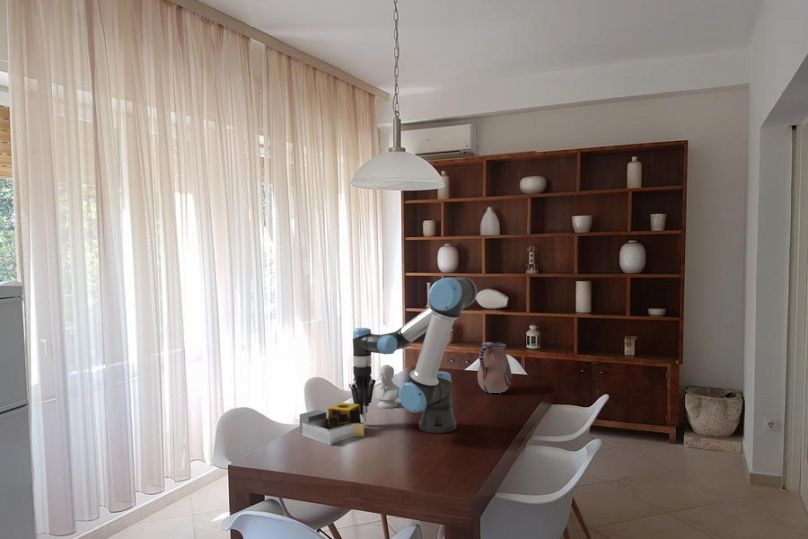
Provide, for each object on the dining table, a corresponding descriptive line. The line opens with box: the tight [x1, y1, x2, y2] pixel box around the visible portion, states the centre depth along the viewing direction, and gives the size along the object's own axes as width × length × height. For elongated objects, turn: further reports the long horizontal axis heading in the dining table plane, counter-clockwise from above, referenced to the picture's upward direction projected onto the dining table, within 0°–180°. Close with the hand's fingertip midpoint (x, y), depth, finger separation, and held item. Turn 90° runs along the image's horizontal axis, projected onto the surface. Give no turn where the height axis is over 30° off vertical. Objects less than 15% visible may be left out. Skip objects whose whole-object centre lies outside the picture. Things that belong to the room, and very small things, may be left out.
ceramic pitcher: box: [476, 341, 513, 394], centre depth 285 cm, size 18×21×25 cm
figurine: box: [374, 364, 401, 409], centre depth 263 cm, size 9×13×20 cm
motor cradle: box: [299, 409, 365, 446], centre depth 222 cm, size 24×16×7 cm
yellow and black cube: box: [327, 402, 362, 429], centre depth 227 cm, size 10×10×10 cm
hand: (363, 421), depth 233 cm, fingers closed
